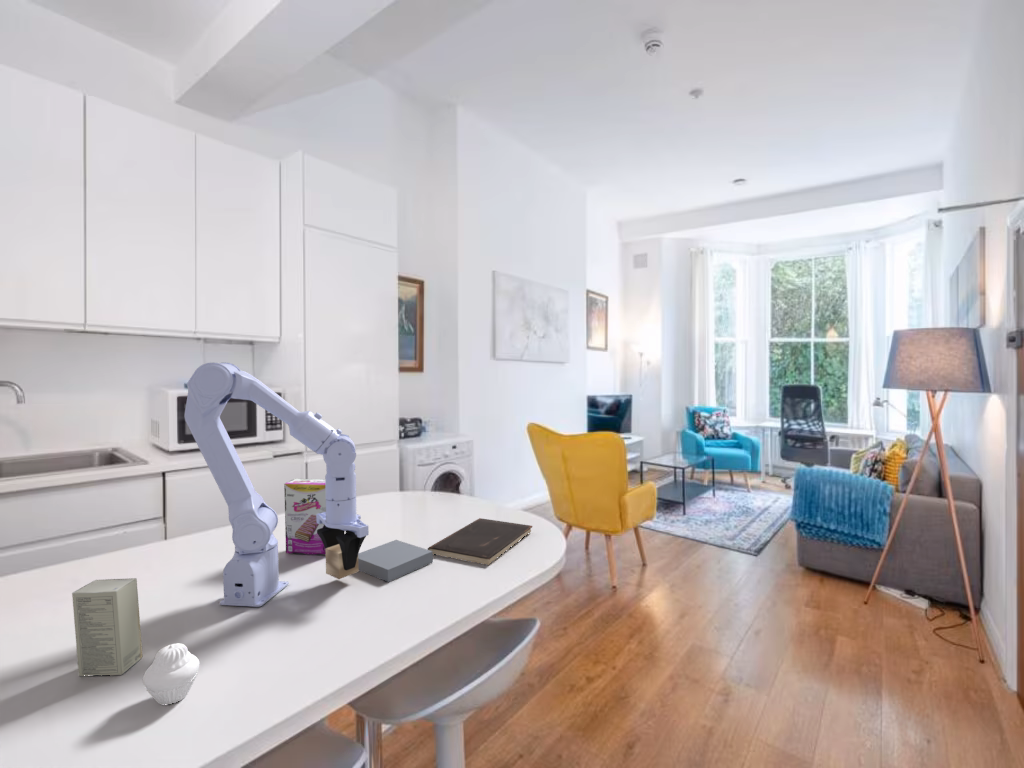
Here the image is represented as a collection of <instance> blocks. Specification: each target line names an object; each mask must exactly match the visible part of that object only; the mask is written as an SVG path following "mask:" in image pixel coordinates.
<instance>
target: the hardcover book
mask: <svg viewBox="0 0 1024 768" xmlns="http://www.w3.org/2000/svg"><path fill="white" fill-rule="evenodd" d="M532 528H533V525H528V524H523V523H515V522H509V521H503V520H501V521H500V520H494V519H487V518H480V517H479V518H477V519H475V520H473V521H472V522H470V523H469V524H467V525H465V526H464V527H462V528H460V529H458V530H457V531H454V532H453V533H451V534H449V535H447V536H445V537H444V538H443V539H440V540H439V541H437V542H436V543H434V544H432V545H431V546H429V547H428V548H427V550H430V551H433V554H436V555H435V556H438V555H441V556H440V557H443V556H446V557H445V558H448V557H452V558H451V559H453V558H457V559H456V560H459V559H462V560H461V561H464V560H466V561H465V562H469V561H471V563H474V562H477V563H476V564H479V563H482V564H481V565H484V564H487V565H486V566H489V565H491V564H492V563H493V562H495V561H496V560H497V559H498V558H497V557H499V556H500V555H501V554H502V555H504V554H505V553H506V552H507V551H506V550H508V549H509V548H510V547H511V546H513V545H514V544H515V543H517V542H518V541H519V540H520V539H522V538H523V537H524V536H526V535H527V534H528V533H530V532H531V531H532ZM531 533H532V532H531ZM531 533H530V534H531ZM527 536H528V535H527ZM527 536H526V537H527ZM523 539H524V538H523ZM523 539H522V540H523ZM519 542H520V541H519ZM519 542H518V543H519ZM518 543H517V544H518ZM515 545H516V544H515ZM515 545H514V546H515ZM514 546H513V547H514ZM510 549H511V548H510ZM510 549H509V550H510ZM509 550H508V551H509ZM505 551H506V552H505ZM504 552H505V553H504ZM503 553H504V554H503ZM502 555H501V556H502ZM501 556H500V557H501ZM500 557H499V558H500ZM496 558H497V559H496ZM495 559H496V560H495ZM494 560H495V561H494ZM492 561H493V562H492ZM491 562H492V563H491ZM490 563H491V564H490Z"/></svg>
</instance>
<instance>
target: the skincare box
mask: <svg viewBox="0 0 1024 768" xmlns="http://www.w3.org/2000/svg"><path fill="white" fill-rule="evenodd" d="M71 596H72V606H73V610H72V611H73V619H74V631H75V633H74V634H75V645H76V646H75V647H76V656H77V657H76V658H77V668H78V669H77V670H78V671H77V672H78V677H89V676H88V675H101V676H100V677H102V675H110V676H121V675H124V674H125V672H127V671H128V670H129V669H130V668H132V666H135V664H137V663H138V661H140V660H141V659H142V658H143V648H142V647H143V646H142V634H141V633H142V632H141V619H140V617H141V616H140V604H139V592H138V580H137V577H134V578H133V577H132V578H131V577H130V578H111V579H109V578H108V579H106V578H105V579H95V580H93V581H91V582H89V583H87V584H85V585H84V586H82V587H80V588H78V589H76V590H75V591H73V592H72V593H71ZM84 675H85V676H84Z"/></svg>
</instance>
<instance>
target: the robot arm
mask: <svg viewBox="0 0 1024 768" xmlns="http://www.w3.org/2000/svg"><path fill="white" fill-rule="evenodd" d="M186 386H187V396H186V398H187V399H186V404H185V410H184V421H185V423H186V425H187V427H188V428H189V430H190V433H191V435H192V437H193V439H194V441H195V444H196V445H197V447H198V449H199V451H200V452H201V455H202V457H203V459H204V461H205V463H206V465H207V467H208V469H209V471H210V473H211V475H212V477H213V479H214V481H215V483H216V485H217V487H218V489H219V490H220V492H221V494H222V497H223V498H224V501H225V503H226V505H227V509H228V510H227V511H228V521H229V523H230V525H231V529H232V534H231V536H232V537H231V539H232V543H233V544H234V553H233V556H232V558H231V559H230V560H229V561H227V563H226V564H225V566H224V568H223V573H222V576H223V578H222V579H223V599H222V600H221V601H219V605H220V606H234V607H235V606H237V607H255V608H256V607H258V608H259V607H262V606H263V605H265V604H266V603H267V602H268V601H270V600H271V599H272V598H273V597H274V596H276V595H277V594H279V592H281V591H282V590H283V589H285V588H286V587H287V586H289V584H290V583H289V581H285V580H284V581H282V580H280V575H279V544H278V543H279V542H278V540H279V539H277V538H276V537H275V535H274V533H273V532H274V531H275V530H276V528H277V526H278V523H279V516H278V514H277V512H276V510H274V509H273V508H272V507H271V506H269V505H268V504H267V503H266V502H265V500H264V497H263V496H262V495H261V494H260V493H258V492H257V491H256V489H255V486H254V485H253V483H252V481H251V479H250V476H249V475H248V472H247V470H246V468H245V467H244V464H243V462H242V460H241V458H240V456H239V454H238V452H237V450H236V448H235V445H234V444H233V441H232V440H231V438H230V436H229V434H228V431H227V429H226V428H225V426H224V423H223V421H222V420H221V414H222V413H223V411H224V409H225V408H226V405H227V404H228V402H229V400H230V399H234V400H243V401H251V402H253V403H254V404H255V405H258V406H259V407H261V409H264V410H265V411H267V412H268V413H270V414H272V415H273V416H274V417H276V418H277V419H278V420H281V422H283V423H285V424H286V425H288V431H289V435H290V436H291V437H292V438H294V439H296V440H297V441H298V442H300V443H301V444H303V445H304V446H305V447H307V448H309V449H310V450H311V451H312V452H314V453H315V454H316V455H321V456H322V458H323V461H324V463H325V464H326V469H325V470H326V474H325V476H324V477H325V478H324V480H325V491H326V512H322V513H319V514H316V521H317V524H322V523H323V524H324V526H323V528H321V529H318V530H317V534H318V535H319V537H320V538H321V540H322V542H323V544H324V547H325V550H326V548H329V547H332V546H335V545H338V544H339V545H340V548H341V552H342V560H343V566H344V570H349V569H352V568H354V567H355V565H356V561H357V557H358V553H360V549H361V547H362V544H363V543H364V540H365V539H366V537H367V536H369V531H370V530H369V525H368V524H366V523H364V521H362V520H361V518H362V516H361V514H357V473H356V472H355V470H356V463H355V460H356V457H357V452H356V450H357V449H356V444H355V442H354V440H352V438H350V436H349V435H347V434H345V433H343V430H342V429H340V428H337V429H336V428H334V427H333V426H332V425H331V424H329V423H328V422H326V421H325V420H324V419H322V418H323V415H322V414H321V413H320V412H318V411H317V412H316V413H314V412H312V411H311V410H305V411H300V410H298V409H297V408H296V407H294V406H293V405H292V404H291V403H290V402H288V401H287V400H285V399H284V398H283V397H281V396H280V395H279V394H278V393H276V391H274V390H273V389H271V388H270V387H269V386H268V385H266V384H265V383H263V381H262V380H260V379H258V378H256V377H255V376H254V375H253V374H251V373H250V372H247V371H245V370H241V369H240V368H239V366H238V365H235V364H233V363H230V362H211V361H210V362H206V363H204V364H201V365H199V366H198V367H197V368H196V370H195V371H194V372H193V373H192V375H191V377H190V378H189V380H188V381H187V383H186Z"/></svg>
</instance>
